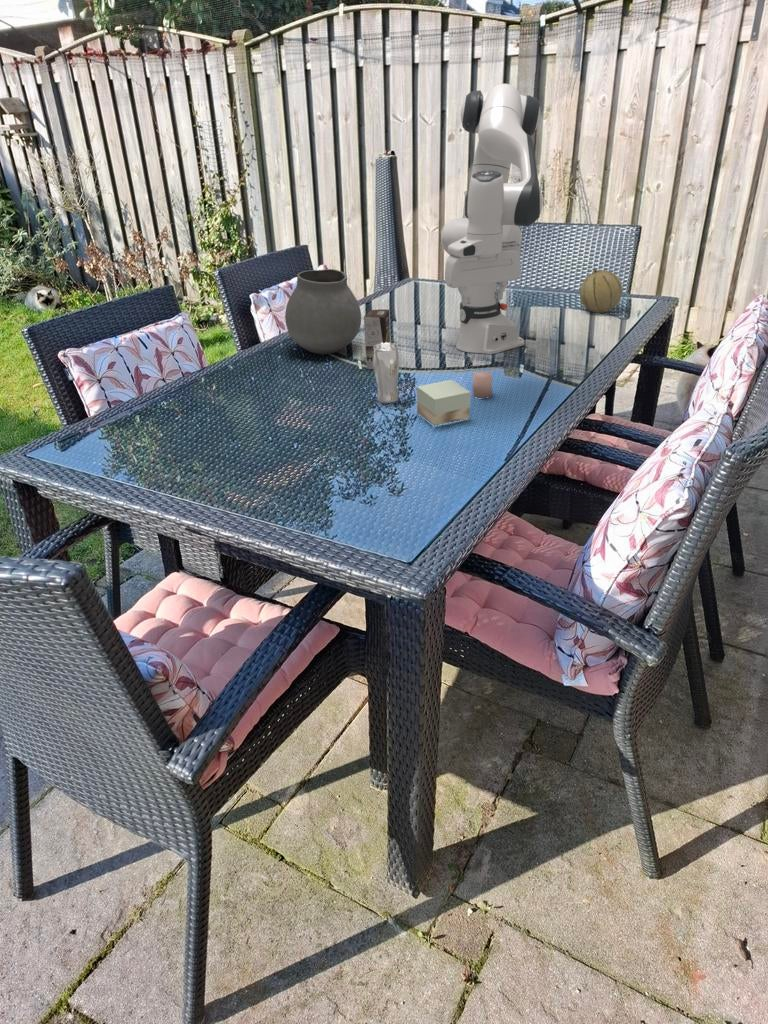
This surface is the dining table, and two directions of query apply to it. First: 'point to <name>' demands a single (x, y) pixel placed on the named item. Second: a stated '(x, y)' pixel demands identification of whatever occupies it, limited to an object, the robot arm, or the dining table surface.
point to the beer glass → (386, 371)
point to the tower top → (443, 396)
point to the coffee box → (375, 332)
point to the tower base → (443, 415)
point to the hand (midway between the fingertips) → (482, 301)
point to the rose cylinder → (482, 384)
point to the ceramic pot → (322, 311)
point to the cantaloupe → (601, 291)
